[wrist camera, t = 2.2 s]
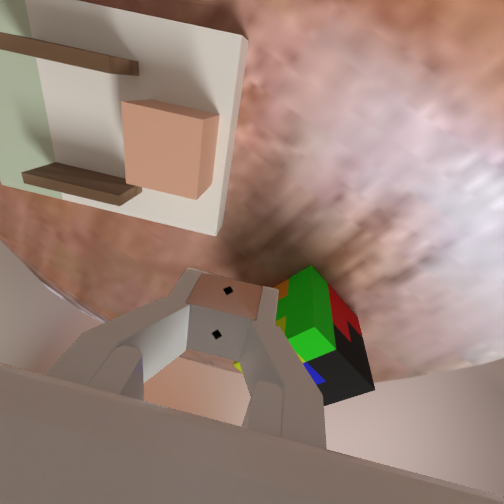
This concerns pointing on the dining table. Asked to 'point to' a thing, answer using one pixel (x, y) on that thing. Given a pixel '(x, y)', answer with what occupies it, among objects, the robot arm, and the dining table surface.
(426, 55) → the dining table surface
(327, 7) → the dining table surface
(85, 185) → the channel walls
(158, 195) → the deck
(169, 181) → the block
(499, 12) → the dining table surface
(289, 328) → the puzzle toy
